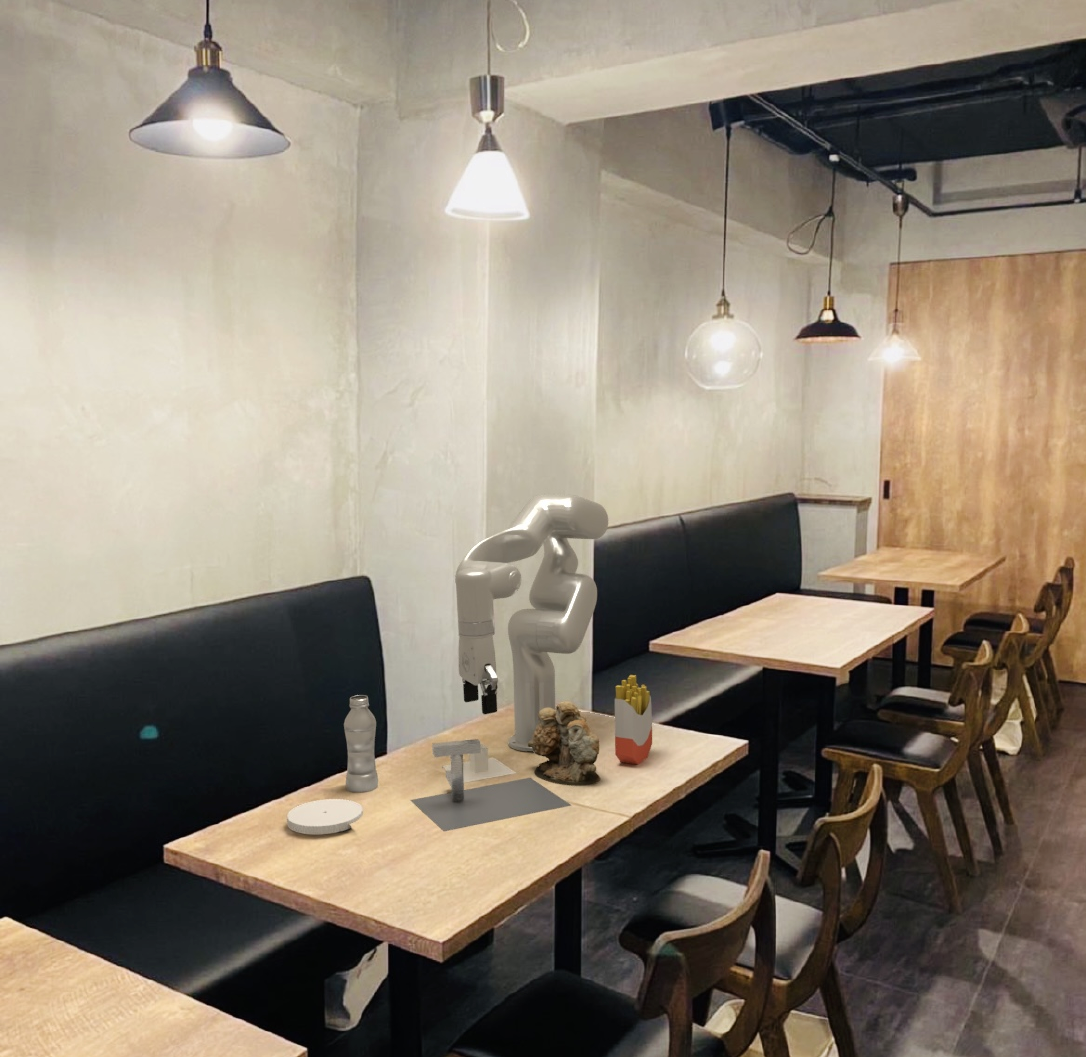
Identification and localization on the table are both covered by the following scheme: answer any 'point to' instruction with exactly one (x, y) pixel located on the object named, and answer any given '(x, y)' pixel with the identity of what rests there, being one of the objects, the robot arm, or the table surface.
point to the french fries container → (632, 722)
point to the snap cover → (482, 767)
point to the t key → (456, 762)
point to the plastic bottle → (360, 746)
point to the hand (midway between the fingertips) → (480, 706)
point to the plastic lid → (324, 816)
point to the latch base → (489, 804)
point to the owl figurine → (565, 746)
